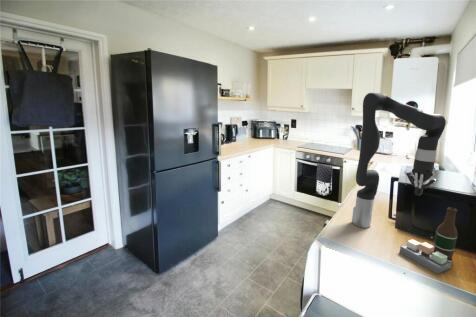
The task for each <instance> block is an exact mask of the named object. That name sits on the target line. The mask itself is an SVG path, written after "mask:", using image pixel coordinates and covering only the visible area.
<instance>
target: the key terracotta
mask: <svg viewBox="0 0 476 317" xmlns="http://www.w3.org/2000/svg"><path fill="white" fill-rule="evenodd" d="M420 243H421V244H420V247H419V250H421V251H423V252H425V253H426V254H430V253H433V252H434V247H435V246H433V244H431V243H428V242H426V241H424V242H420Z"/></svg>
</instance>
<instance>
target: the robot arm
mask: <svg viewBox="0 0 476 317" xmlns="http://www.w3.org/2000/svg"><path fill="white" fill-rule="evenodd" d="M377 111H378V112H379V111H383V112H388V113H390V114H393V115H394V116H395V117H397V118H398V119H400V120H402V121H405V122H406V123H409V124H412V125H413V126H415V127H416V128H418V129H419V130H422V131H425V133H424V134H423V135H420V136H419V138H418V142H417V147H416V151H415V155H414V161H413V166H412V167H413V168H412V169H411V171H410V172H406V173H405V174H406V176H407V178H408V179H407V180H408V181H409V183H410V184H411V185H413V186H414V191H413V193H414V195H415V196H418V197H419V196H421V195H423V192H424V189H427V188H430V187H431V186H433V185H435V183H437V182H438V181H439V180H438V179H437V178H435V177H434V173H433V172H434V169H435V168H434V167H435V163H436V162H435V161H436V158H437V148H438V144H439V141H440V138H441V137H442V134H443V132H444V130H445V128H446V123H447V122H446V120H447V119H446V117H445V116H444V115H443V114H439V113H426V112H424V111H423V110H422V109H420V108H418V107H415V106H412V105H409V104H406V103H403V102H400V101H398V100H396V99H393V98H392V97H390V96H388V95H387V94H384V93H383V92H382V93H381V92H368V93H367V94H366V95H365V96H364V97H363V101H362V126H361V138H360V145H359V146H360V147H359V148H360V149H359V156H358V164H357V167H356V173H355V182H356V184H357V186H359V187H362V188H360V189H359V190H357V191H356V198H355V206H354V207H353V210H352V216H351V223H353V225H355V226H356V227H358V228H361V229H363V228H364V229H368V228H370V227H371V223H372V216H373V211H374V210H373V209H374V205H375V197H376V195H377V194H378V193H377V192H378V189H379V183H380V174H379V172H378V171H377V170H376V169H375V170H374V169H369V167H368V166H369V163H370V162H371V160H372V158H373V157H374V156H375V154H376V153H377V151H379V148H380V143H381V142H380V141H381V133H380V129H379V128H378V126H377V121H376V112H377ZM427 181H428V182H427Z"/></svg>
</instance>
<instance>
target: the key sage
mask: <svg viewBox="0 0 476 317" xmlns="http://www.w3.org/2000/svg"><path fill="white" fill-rule="evenodd" d="M447 257H448V256H446V255H444V254H442V253H440V252H438V251H437V252H435V253H432V257H431V260H433V261H435V262H437V263H439V264H444V263H446V261H447V260H448V259H447Z"/></svg>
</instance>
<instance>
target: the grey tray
mask: <svg viewBox="0 0 476 317" xmlns="http://www.w3.org/2000/svg"><path fill="white" fill-rule="evenodd" d="M399 253H401V254H402V255H404V256H406V257H408V258H409V259H412V260H413V261H415V262H416V263H418V264H420V265H421V266H423V267H425V268H426V269H430V270H431V271H433V272H435V273H436V274H440V273H443V272H445V271H446V270H449V269H451V268H452V267H451V265H452V260H450V259H447V261H446V263H444V264H439V263H437V262H435V261H433V260H431V257H432V253H430V254H426V253H425V252H423V251H421V250H416V251H414V250H412V249H410V248H408V247H407V244H406V245H400V246H399Z"/></svg>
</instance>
